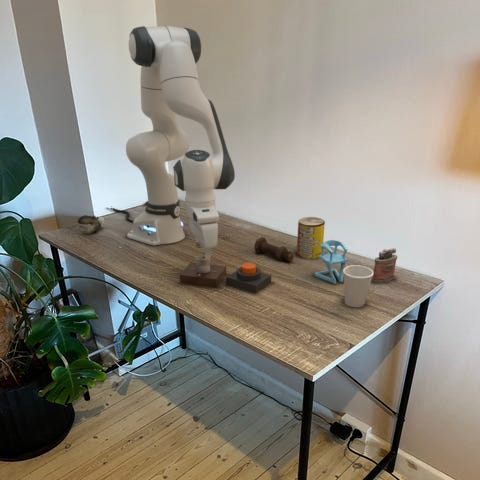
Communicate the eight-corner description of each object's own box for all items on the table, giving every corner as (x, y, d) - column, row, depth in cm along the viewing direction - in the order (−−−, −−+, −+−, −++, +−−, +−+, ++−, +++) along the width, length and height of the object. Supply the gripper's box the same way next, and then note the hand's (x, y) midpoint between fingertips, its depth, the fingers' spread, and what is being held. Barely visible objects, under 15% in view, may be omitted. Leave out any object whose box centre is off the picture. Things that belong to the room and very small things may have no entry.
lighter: (376, 284, 154) (380, 254, 149) (369, 280, 156) (373, 250, 151) (396, 278, 157) (401, 249, 152) (389, 274, 160) (393, 245, 154)
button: (238, 272, 152) (238, 266, 151) (246, 267, 155) (246, 261, 154) (250, 275, 150) (250, 269, 149) (258, 270, 153) (258, 264, 152)
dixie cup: (348, 293, 149) (352, 262, 144) (374, 301, 144) (378, 270, 139) (334, 303, 143) (337, 272, 138) (360, 312, 138) (364, 280, 133)
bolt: (289, 268, 169) (257, 255, 178) (298, 257, 170) (265, 245, 179) (285, 257, 164) (252, 244, 173) (294, 246, 166) (260, 234, 175)
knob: (194, 272, 155) (193, 258, 153) (199, 266, 159) (198, 253, 156) (207, 273, 154) (206, 259, 152) (212, 268, 158) (211, 254, 155)
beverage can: (295, 248, 179) (297, 216, 173) (320, 249, 179) (323, 216, 173) (297, 258, 171) (299, 225, 165) (323, 258, 171) (326, 225, 165)
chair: (328, 285, 153) (331, 249, 147) (314, 275, 160) (316, 240, 154) (349, 281, 156) (353, 245, 150) (334, 271, 162) (337, 236, 156)
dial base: (180, 283, 155) (179, 274, 154) (191, 270, 164) (191, 261, 162) (216, 288, 152) (216, 278, 151) (226, 274, 161) (226, 265, 159)
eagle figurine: (90, 222, 202) (74, 225, 195) (97, 209, 199) (81, 211, 191) (102, 235, 201) (86, 238, 194) (109, 222, 197) (93, 224, 190)
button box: (226, 284, 154) (225, 271, 152) (242, 274, 161) (242, 261, 158) (255, 293, 149) (255, 280, 147) (271, 282, 155) (271, 269, 153)
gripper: (182, 200, 154) (185, 242, 161) (199, 220, 137) (201, 266, 144) (201, 198, 156) (204, 240, 163) (220, 217, 139) (222, 263, 146)
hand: (203, 252), depth 153 cm, fingers open, 8 cm apart
